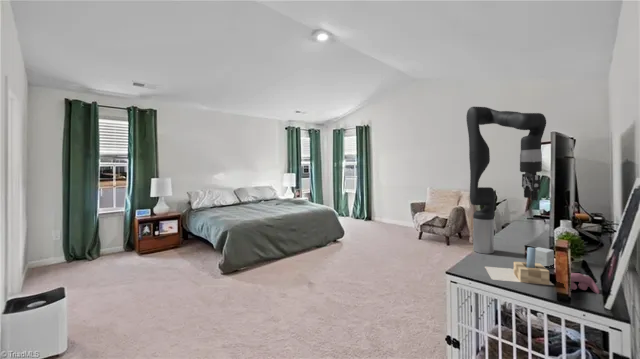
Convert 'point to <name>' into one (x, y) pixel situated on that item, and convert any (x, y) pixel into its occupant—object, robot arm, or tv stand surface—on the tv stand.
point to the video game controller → (583, 282)
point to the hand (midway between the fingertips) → (530, 198)
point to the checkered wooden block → (531, 273)
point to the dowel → (531, 257)
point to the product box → (544, 256)
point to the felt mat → (503, 274)
